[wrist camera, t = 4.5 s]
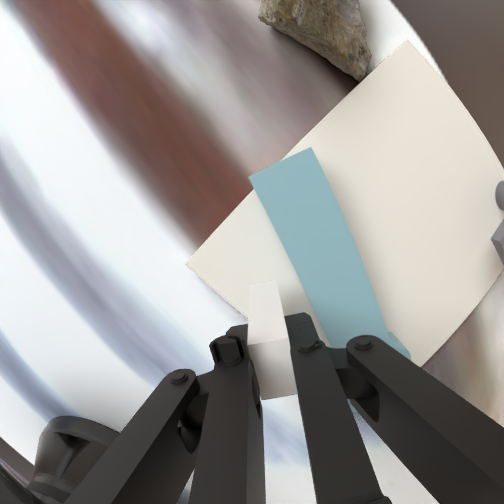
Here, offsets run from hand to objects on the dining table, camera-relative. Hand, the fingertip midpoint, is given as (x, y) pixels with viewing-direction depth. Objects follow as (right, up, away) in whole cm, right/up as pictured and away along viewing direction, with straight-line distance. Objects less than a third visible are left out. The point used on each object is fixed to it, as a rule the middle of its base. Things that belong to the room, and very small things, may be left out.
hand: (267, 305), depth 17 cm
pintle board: (+9, +4, +2) cm, 11 cm away
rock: (+3, +20, -1) cm, 20 cm away
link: (+5, 0, +2) cm, 5 cm away
